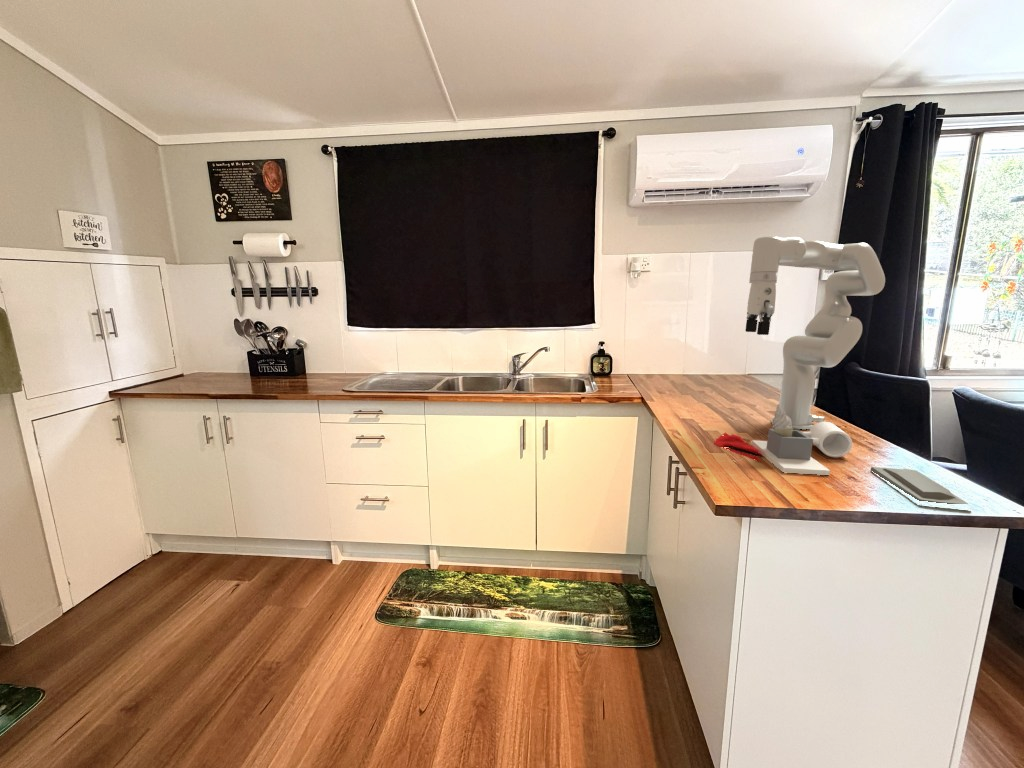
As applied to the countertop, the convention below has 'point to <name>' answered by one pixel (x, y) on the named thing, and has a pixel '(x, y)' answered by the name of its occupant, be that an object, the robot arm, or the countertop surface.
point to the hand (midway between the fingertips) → (756, 333)
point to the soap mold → (917, 485)
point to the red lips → (737, 445)
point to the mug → (830, 439)
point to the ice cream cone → (782, 423)
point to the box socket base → (790, 453)
